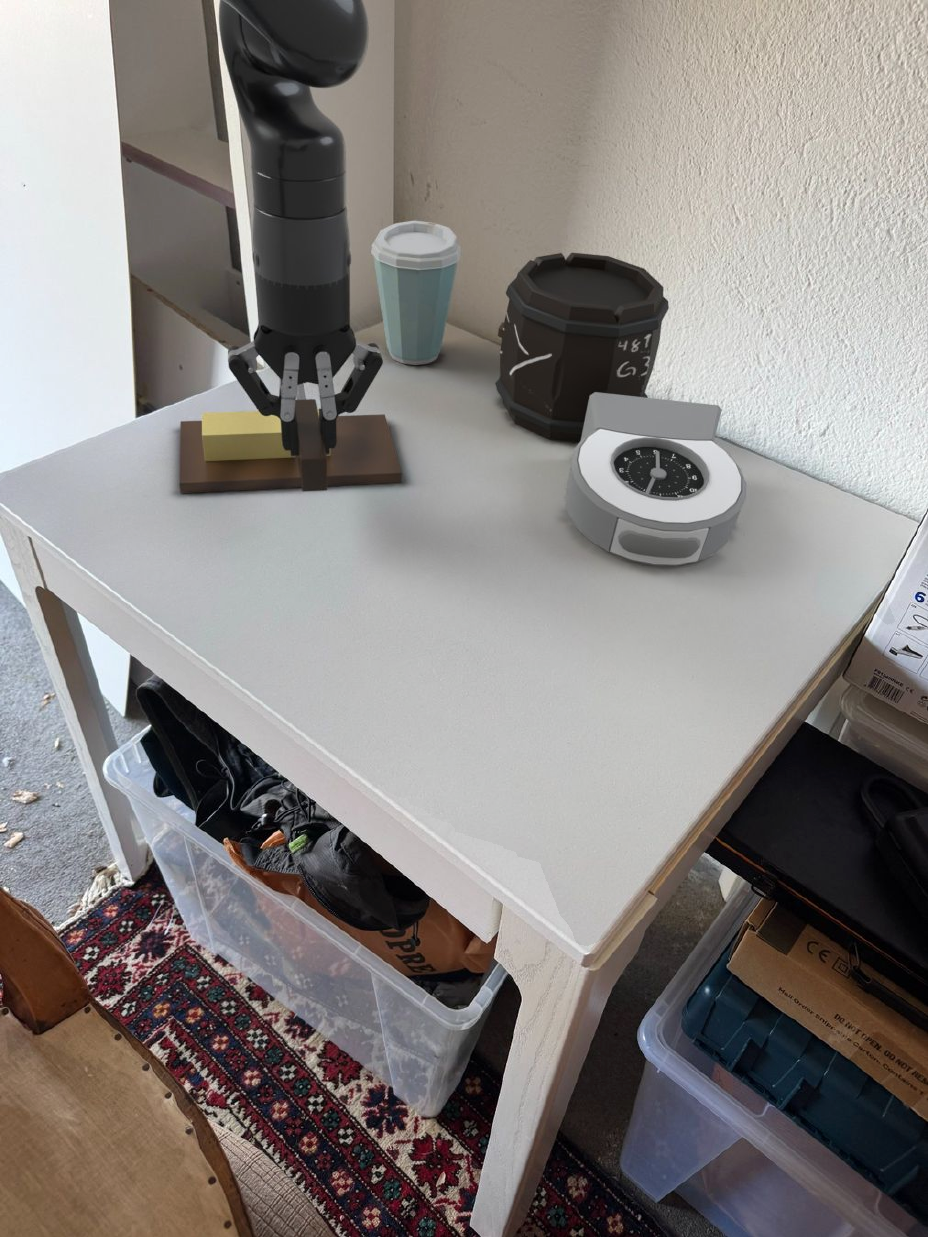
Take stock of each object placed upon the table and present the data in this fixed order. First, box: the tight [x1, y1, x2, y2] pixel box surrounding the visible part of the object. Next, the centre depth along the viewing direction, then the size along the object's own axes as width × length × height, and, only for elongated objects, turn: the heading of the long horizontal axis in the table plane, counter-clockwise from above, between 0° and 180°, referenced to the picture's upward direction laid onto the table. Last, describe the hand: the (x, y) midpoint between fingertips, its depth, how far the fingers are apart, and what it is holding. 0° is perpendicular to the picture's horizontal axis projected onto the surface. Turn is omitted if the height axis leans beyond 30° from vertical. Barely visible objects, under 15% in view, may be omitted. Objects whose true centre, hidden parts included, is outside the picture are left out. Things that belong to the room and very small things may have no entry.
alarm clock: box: [564, 392, 747, 567], centre depth 93 cm, size 17×9×19 cm
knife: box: [295, 383, 328, 492], centre depth 89 cm, size 22×2×3 cm, turn 12°
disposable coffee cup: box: [370, 220, 462, 366], centre depth 113 cm, size 11×11×15 cm
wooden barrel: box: [495, 252, 670, 444], centre depth 105 cm, size 18×18×16 cm
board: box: [178, 413, 403, 494], centre depth 97 cm, size 22×12×1 cm, turn 102°
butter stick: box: [201, 410, 295, 461], centre depth 95 cm, size 9×4×3 cm, turn 102°
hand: (309, 450), depth 85 cm, fingers closed on knife, 2 cm apart
